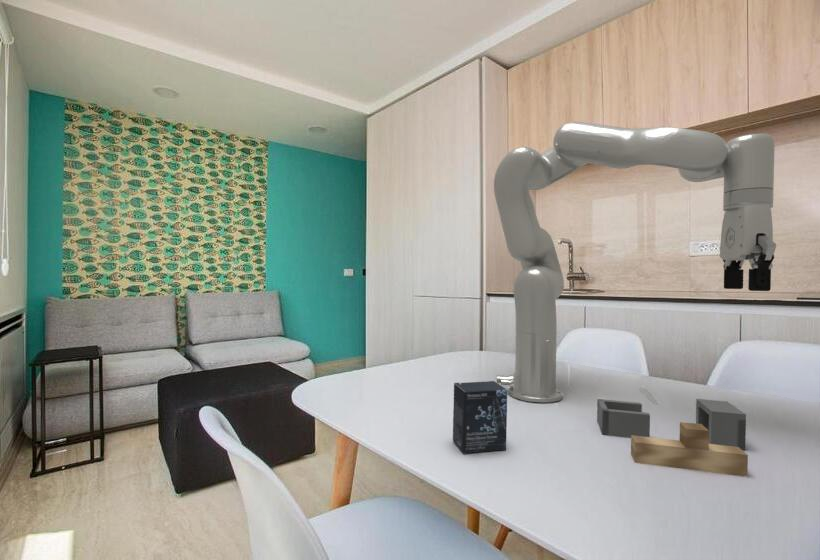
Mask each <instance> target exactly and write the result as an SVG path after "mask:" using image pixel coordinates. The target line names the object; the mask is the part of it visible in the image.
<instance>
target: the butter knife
mask: <svg viewBox="0 0 820 560" xmlns="http://www.w3.org/2000/svg"><path fill="white" fill-rule="evenodd" d="M639 390H640V392H641V393H642V394H643V395H644V394H645V395H646V397H647V398H648V399H649V401H650V402H651V403H653V402H654V403H656V404H655V405H659V404H658V403H659V402H658V401H657V400H656V399H655V397H654V395H653V394H652V393H651V391H650V390H649V389H647V388H643V387H641V388H639ZM648 390H649V391H650V392H649V391H648ZM645 395H644V396H645ZM657 402H658V403H657ZM654 403H653V404H654Z"/></svg>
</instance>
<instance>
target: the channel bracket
mask: <svg viewBox="0 0 820 560" xmlns="http://www.w3.org/2000/svg"><path fill="white" fill-rule="evenodd" d="M695 400H696V401H695V402H696V404H695V423H696V424H702V425H703V426H704V427H705V428H706V429H707V430H708V431H709V444H716V445H725V446H734V447H739V448H740V449H742V450H743V451H746V440H747V439H746V436H747V435H746V434H747V431H746V430H747V414H746V413H745V412H744V411H742V410H741V409H740V408H738V407H736V406H734V405H733V404H731V403H730V402H729V401H727V400H726V401H725V400H714V399H701V398H696V399H695Z"/></svg>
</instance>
